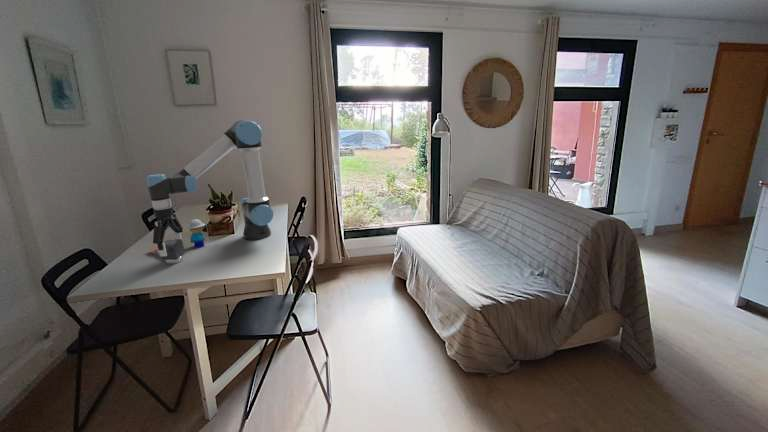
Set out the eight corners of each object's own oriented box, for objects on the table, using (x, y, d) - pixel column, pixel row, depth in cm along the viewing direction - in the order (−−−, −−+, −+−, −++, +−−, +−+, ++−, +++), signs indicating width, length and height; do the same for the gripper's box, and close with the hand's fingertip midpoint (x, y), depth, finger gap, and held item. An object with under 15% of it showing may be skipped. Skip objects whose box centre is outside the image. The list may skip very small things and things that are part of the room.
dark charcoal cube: (184, 253, 169) (181, 239, 167) (177, 259, 162) (173, 244, 160) (170, 254, 169) (167, 239, 167) (162, 259, 162) (158, 245, 160)
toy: (212, 244, 189) (207, 217, 184) (198, 249, 181) (192, 222, 177) (201, 242, 192) (196, 216, 188) (187, 247, 185) (181, 221, 180)
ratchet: (147, 252, 179) (144, 241, 177) (162, 248, 184) (159, 237, 182) (169, 265, 162) (166, 252, 160) (185, 260, 167) (182, 248, 165)
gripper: (169, 201, 171) (178, 241, 177) (136, 215, 147) (147, 261, 153) (185, 201, 171) (193, 241, 177) (154, 214, 147) (164, 260, 153)
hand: (172, 250), depth 165 cm, fingers open, 13 cm apart
